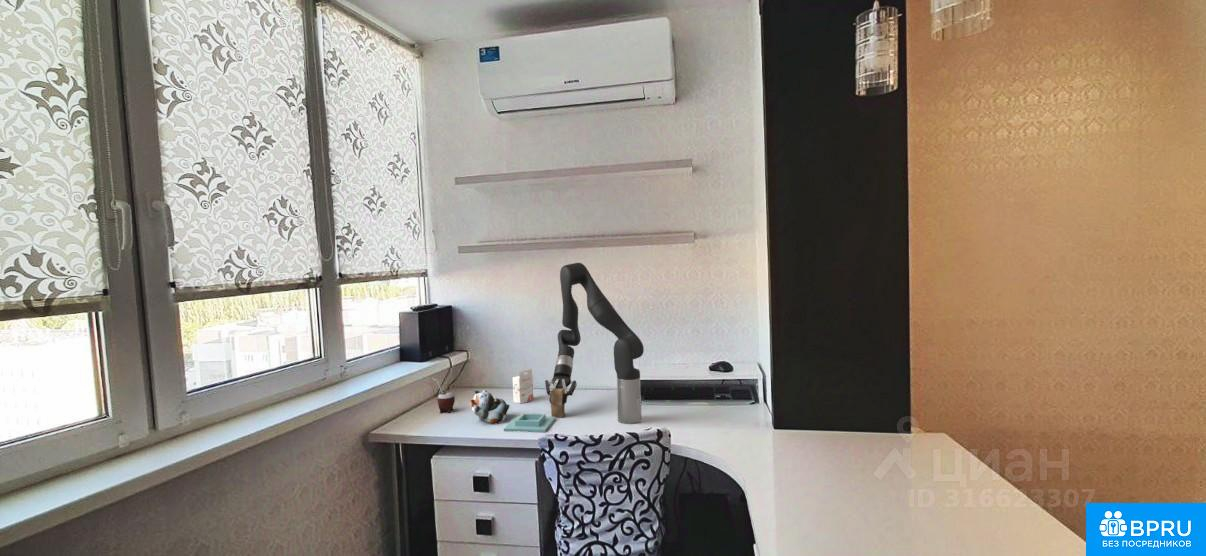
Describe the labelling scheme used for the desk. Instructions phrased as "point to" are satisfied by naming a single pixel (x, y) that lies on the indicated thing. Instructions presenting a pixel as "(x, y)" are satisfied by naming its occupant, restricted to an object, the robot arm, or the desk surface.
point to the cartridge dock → (530, 423)
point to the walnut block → (557, 403)
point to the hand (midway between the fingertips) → (557, 403)
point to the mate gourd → (445, 400)
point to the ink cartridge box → (523, 387)
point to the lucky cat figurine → (489, 407)
